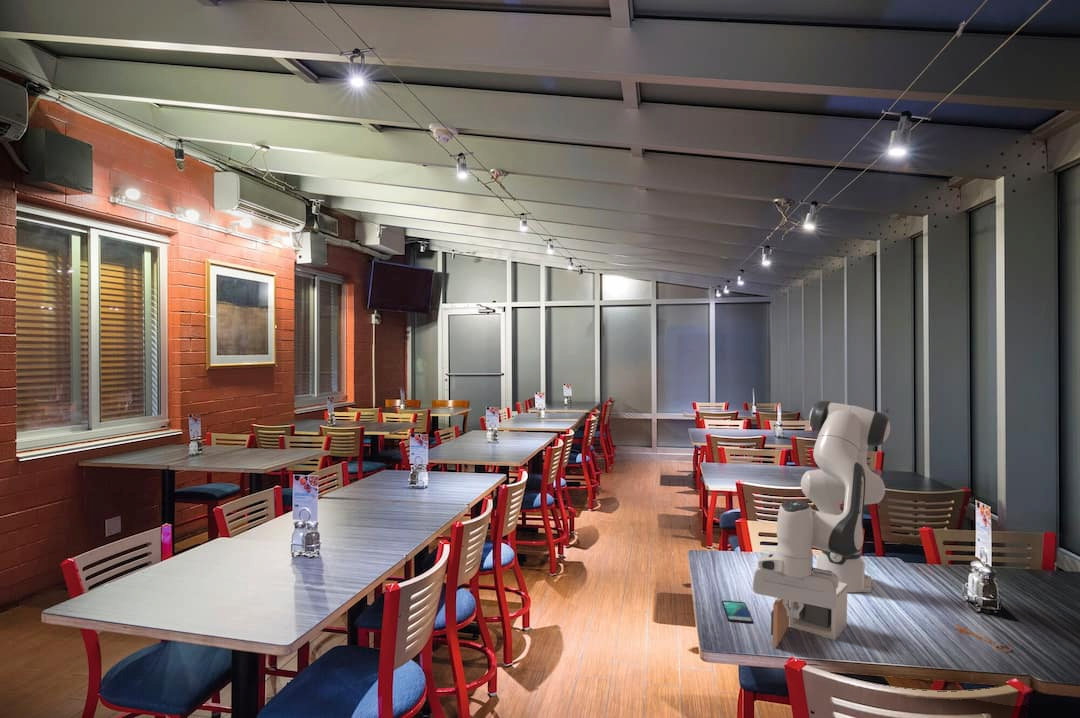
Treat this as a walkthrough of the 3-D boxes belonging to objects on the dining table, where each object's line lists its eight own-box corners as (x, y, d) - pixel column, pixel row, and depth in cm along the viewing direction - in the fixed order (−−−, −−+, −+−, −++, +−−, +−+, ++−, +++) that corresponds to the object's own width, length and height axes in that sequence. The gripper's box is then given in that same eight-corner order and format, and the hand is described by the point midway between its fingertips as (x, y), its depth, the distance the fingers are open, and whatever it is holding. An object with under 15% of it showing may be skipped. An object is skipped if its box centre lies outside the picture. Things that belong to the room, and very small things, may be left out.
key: (947, 630, 170) (996, 655, 156) (947, 627, 170) (996, 652, 156) (964, 627, 171) (1014, 652, 157) (964, 624, 171) (1014, 648, 157)
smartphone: (728, 620, 171) (721, 600, 186) (728, 623, 171) (721, 602, 186) (754, 622, 170) (745, 601, 185) (754, 625, 170) (745, 604, 185)
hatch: (789, 624, 169) (789, 586, 169) (776, 646, 156) (777, 604, 156) (783, 623, 170) (784, 585, 170) (770, 645, 157) (771, 603, 157)
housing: (802, 613, 178) (803, 573, 178) (846, 625, 170) (847, 583, 170) (789, 626, 169) (790, 584, 169) (835, 639, 161) (835, 595, 161)
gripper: (839, 568, 152) (838, 622, 152) (756, 553, 163) (755, 604, 163) (837, 576, 147) (836, 631, 147) (751, 560, 158) (750, 612, 158)
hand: (793, 617), depth 155 cm, fingers closed
